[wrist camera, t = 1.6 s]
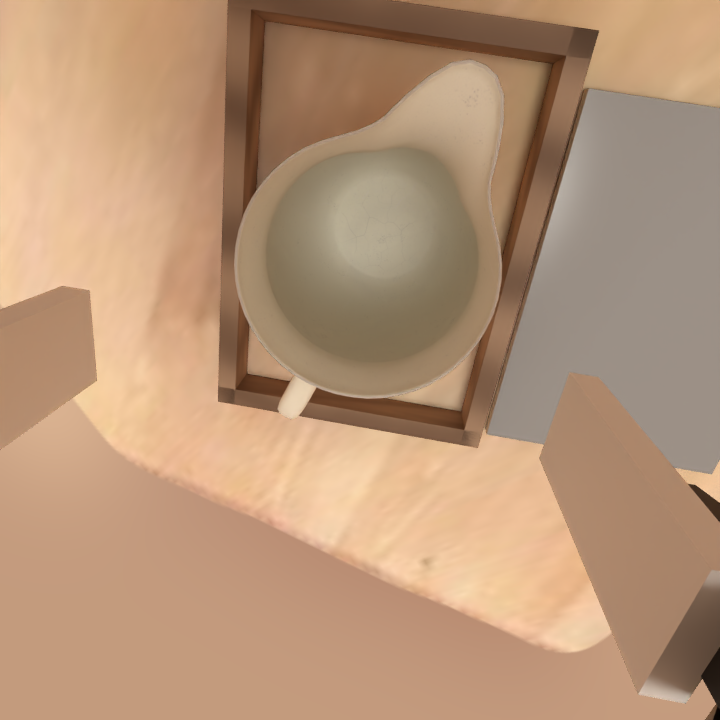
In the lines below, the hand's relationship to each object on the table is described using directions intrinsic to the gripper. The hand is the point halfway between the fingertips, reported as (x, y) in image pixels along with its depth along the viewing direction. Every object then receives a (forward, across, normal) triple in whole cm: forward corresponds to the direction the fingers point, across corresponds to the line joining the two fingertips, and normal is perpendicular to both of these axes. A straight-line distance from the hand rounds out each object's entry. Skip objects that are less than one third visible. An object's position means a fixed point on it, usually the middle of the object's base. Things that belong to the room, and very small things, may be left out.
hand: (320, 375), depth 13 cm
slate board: (+20, +18, -1) cm, 27 cm away
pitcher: (+20, 0, 0) cm, 20 cm away
